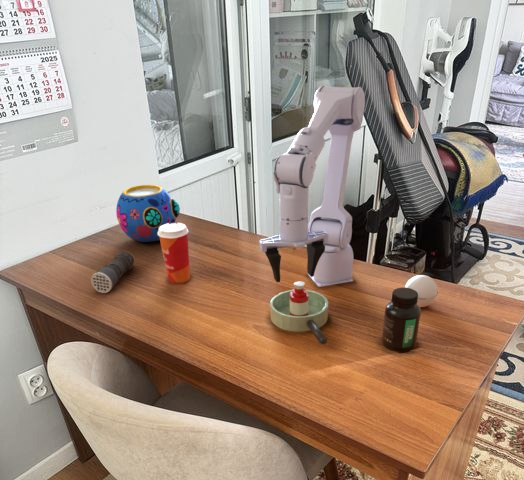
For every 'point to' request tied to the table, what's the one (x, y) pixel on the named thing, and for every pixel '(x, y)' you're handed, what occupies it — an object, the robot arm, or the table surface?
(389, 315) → the supplement bottle
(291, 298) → the sauce bottle
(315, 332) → the pan handle
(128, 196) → the ceramic pot
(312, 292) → the pan
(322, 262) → the robot arm
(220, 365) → the table surface
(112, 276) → the flashlight
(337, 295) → the table surface
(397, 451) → the table surface
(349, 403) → the table surface
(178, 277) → the paper cup
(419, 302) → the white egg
